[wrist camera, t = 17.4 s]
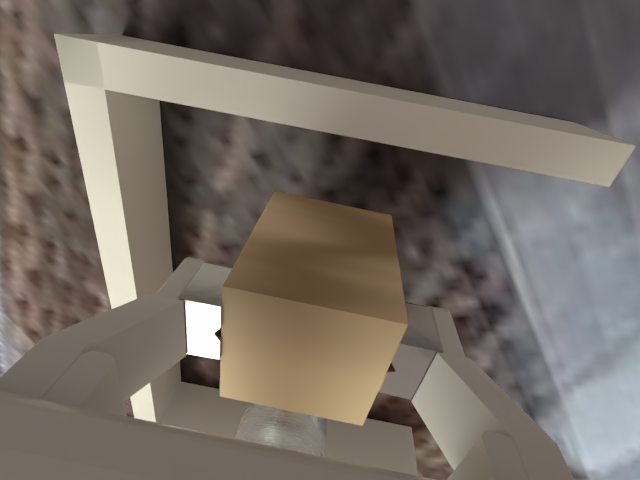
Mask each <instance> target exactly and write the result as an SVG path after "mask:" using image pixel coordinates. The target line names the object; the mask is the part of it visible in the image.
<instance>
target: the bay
mask: <svg viewBox="0 0 640 480" xmlns="http://www.w3.org/2000/svg"><path fill="white" fill-rule="evenodd" d="M54 36H55V41H56V46H57V51H58V55H59V60H60V65H61V70H62V74H63V79H64V84H65V89H66V93H67V98H68V103H69V108H70V112H71V117H72V122H73V127H74V132H75V136H76V141H77V146H78V151H79V155H80V160H81V165H82V170H83V174H84V179H85V184H86V189H87V193H88V198H89V203H90V208H91V213H92V217H93V222H94V227H95V232H96V236H97V241H98V246H99V251H100V255H101V260H102V265H103V270H104V274H105V279H106V284H107V289H108V294H109V298H110V303H111V308H112V309H114V308H116V307H118V306H121V305H123V304H126V303H128V302H130V301H133V300H135V299H138V298H140V297H142V296H145V295H147V294H155V295H156V293H157V292H158V291H159V290H160V288H161V287H162V286H163V285H164V283H165V282H166V281H167V280H168V279H169V277H170V276H171V275H172V274H173V268H172V255H171V242H170V229H169V216H168V203H167V191H166V178H165V165H164V152H163V139H162V126H161V114H160V101H159V100H161V101H167V102H172V103H177V104H182V105H187V106H192V107H198V108H203V109H208V110H213V111H218V112H223V113H229V114H234V115H239V116H244V117H249V118H255V119H260V120H265V121H270V122H275V123H280V124H286V125H291V126H296V127H301V128H306V129H311V130H317V131H322V132H327V133H332V134H337V135H342V136H348V137H353V138H358V139H363V140H368V141H373V142H379V143H384V144H389V145H394V146H399V147H404V148H410V149H415V150H420V151H425V152H430V153H435V154H441V155H446V156H451V157H456V158H461V159H466V160H472V161H477V162H482V163H487V164H492V165H498V166H503V167H508V168H513V169H518V170H523V171H529V172H534V173H539V174H544V175H549V176H554V177H560V178H565V179H570V180H575V181H580V182H585V183H591V184H596V185H601V186H606V187H610V185H611V184H612V182H613V181H614V179H615V178H616V176H617V175H618V173H619V172H620V170H621V169H622V167H623V165H624V164H625V162H626V161H627V159H628V158H629V156H630V155H631V153H632V152H633V150H634V149H635V147H636V146H635V145H632V144H630V143H627V142H625V141H622V140H619V139H617V138H614V137H612V136H609V135H606V134H604V133H601V132H599V131H596V130H593V129H591V128H588V127H586V126H583V125H580V124H578V123H575V122H570V121H564V120H559V119H554V118H549V117H544V116H538V115H533V114H528V113H523V112H518V111H512V110H507V109H502V108H497V107H492V106H486V105H481V104H476V103H471V102H466V101H460V100H455V99H450V98H445V97H440V96H435V95H429V94H424V93H419V92H414V91H409V90H403V89H398V88H393V87H388V86H383V85H377V84H372V83H367V82H362V81H357V80H351V79H346V78H341V77H336V76H331V75H325V74H320V73H315V72H310V71H305V70H300V69H294V68H289V67H284V66H279V65H274V64H268V63H263V62H258V61H253V60H248V59H242V58H237V57H232V56H227V55H222V54H216V53H211V52H206V51H201V50H196V49H190V48H185V47H180V46H175V45H170V44H164V43H159V42H154V41H149V40H144V39H139V38H133V37H128V36H123V35H91V34H54ZM130 398H131V403H132V408H133V413H134V417H135V418H137V419H142V420H147V421H152V422H157V423H161V424H166V425H171V426H176V427H181V428H186V429H191V430H195V431H200V432H205V433H210V434H215V435H220V436H225V437H230V438H234V439H235V436H236V433H237V430H238V427H239V424H240V421H241V418H242V414H243V411H244V408H245V405H246V402H245V401H240V400H235V399H230V398H225V397H221V396H220V389H216V388H211V387H206V386H201V385H196V384H191V383H186V382H181V370H180V361H179V362H177V363H176V364H174V365H173V366H172V367H170V368H169V369H168V370H166V371H165V372H164V373H162V374H161V375H159V376H158V377H157V378H155V379H154V380H153V381H151V382H150V383H149V384H147V385H146V386H145V387H143V388H142V389H140V390H139V391H138V392H136V393H135V394H134V395H132V396H131V397H130ZM324 457H327V458H332V459H337V460H342V461H346V462H351V463H356V464H361V465H366V466H371V467H376V468H381V469H386V470H390V471H395V472H400V473H405V474H410V475H415V476H418V472H417V465H416V457H415V450H414V442H413V434H412V427H409V426H404V425H399V424H394V423H388V422H383V421H378V420H373V419H368V418H366V419H365V422H364V424H363V426H360V425H355V424H351V423H346V422H341V421H336V420H331V419H327V429H326V440H325V451H324Z"/></svg>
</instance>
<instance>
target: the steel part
mask: <svg viewBox="0 0 640 480" xmlns="http://www.w3.org/2000/svg"><path fill="white" fill-rule="evenodd" d="M326 429H327V418H322V417H317V416H312V415H307V414H302V413H298V412H293V411H288V410H283V409H278V408H274V407H269V406H264V405H259V404H254V403H250V402H246V405H245V408H244V411H243V414H242V418H241V421H240V424H239V427H238V430H237V433H236V436H235V439H239V440H244V441H249V442H254V443H259V444H264V445H268V446H273V447H278V448H283V449H288V450H293V451H298V452H302V453H307V454H312V455H317V456H322V457H324V451H325V440H326Z"/></svg>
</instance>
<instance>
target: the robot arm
mask: <svg viewBox="0 0 640 480" xmlns="http://www.w3.org/2000/svg"><path fill="white" fill-rule="evenodd" d="M232 268H233V266H229V265H224V264H220V263H215V262H211V261H205V260H201V259H197V258H192V257H188V258H185V259H184V260H183V261H182V262H181V264H180V265H179V266H178V267H177V269H176V270H175V271H174V272H173V274H172V275H171V276H170V277H169V279H168V280H167V281H166V282H165V283H164V285H163V286H162V287H161V288H160V290H159V291H158V292H157V293H156V295H155V294H147V295H145V296H142V297H140V298H138V299H135V300H133V301H130V302H128V303H126V304H123V305H121V306H118V307H116V308H114V309H111V310H109V311H106V312H104V313H102V314H99V315H97V316H94V317H92V318H89V319H87V320H85V321H82V322H80V323H77V324H75V325H73V326H70V327H68V328H65V329H63V330H61V331H58V332H56V333H53V334H51V335H49V336H46V337H44V338H42V339H41V340H40V341H39V342H38V343H37V344H36V345H35V346H34V347H32V348H31V349H30V350H29V351H28V352H27V353H26V354H25V355H24V356H23V357H22V358H21V359H20V360H19V361H17V362H16V363H15V364H14V365H13V366H12V367H11V368H10V369H9V370H8V371H7V372H6V373H5V374H4V375H2V376H1V377H0V480H434V479H430V478H425V477H420V476H415V475H410V474H405V473H400V472H395V471H390V470H386V469H381V468H376V467H371V466H366V465H361V464H356V463H351V462H346V461H342V460H337V459H332V458H327V457H322V456H317V455H312V454H307V453H302V452H298V451H293V450H288V449H283V448H278V447H273V446H268V445H264V444H259V443H254V442H249V441H244V440H239V439H234V438H230V437H225V436H220V435H215V434H210V433H205V432H200V431H195V430H191V429H186V428H181V427H176V426H171V425H166V424H161V423H157V422H152V421H147V420H142V419H137V418H132V417H127V414H126V409H125V405H124V401H125V400H127V399H128V398H130V397H131V396H132V395H134V394H135V393H136V392H138V391H139V390H140V389H142V388H143V387H145V386H146V385H147V384H149V383H150V382H151V381H153V380H154V379H155V378H157V377H158V376H159V375H161V374H162V373H164V372H165V371H166V370H168V369H169V368H170V367H172V366H173V365H174V364H176V363H177V362H179V361H180V360H181V359H183V358H184V357H185V356H186V354H191V355H196V356H202V357H208V358H213V359H219V360H220V358H221V326H222V286H223V284H224V282H225V281H226V279H227V277H228V275H229V273H230V271H231V270H232ZM405 307H406V314H407V320H408V326H407V329H406V331H405V333H404V335H403V337H402V340H401V341H400V342H399V345H398V347H397V349H396V351H395V353H394V356H393V358H392V360H391V361H392V362H391V364H390V366H389V368H388V371H387V372H386V374H385V376H384V378H383V381H382V383H381V386H380V388H379V392H380V393H384V394H388V395H393V396H397V397H401V398H406V399H410V400H412V401H411V402H412V403H413V405H414V406H415V408H416V410H417V411H418V413H419V415H420V416H421V418H422V420H423V421H424V423H425V424H426V426H427V428H428V429H429V431H430V433H431V434H432V436H433V437H434V439H435V441H436V442H437V444H438V446H439V447H440V449H441V450H442V452H443V454H444V455H445V457H446V459H447V460H448V462H449V463H450V465H451V467H452V468H453V470H454V471H453V473H452V474H451V475H450V476H449V478H448V479H447V480H574V479H573V476H572V474H571V472H570V470H569V468H568V466H567V464H566V462H565V460H564V458H563V456H562V454H561V451H560V449H559V447H558V445H557V444H556V443H555V442H554V441H553V440H552V439H551V438H550V437H549V436H548V435H547V434H546V433H545V432H544V431H543V430H542V429H541V428H540V427H539V426H538V425H537V424H536V423H535V422H534V421H533V420H532V419H531V418H530V417H529V416H528V415H527V414H526V413H525V412H524V411H523V410H522V409H521V408H520V407H519V406H518V405H517V404H516V403H515V402H514V401H513V400H512V399H511V398H510V397H509V396H508V395H507V394H506V393H505V392H504V391H503V390H502V389H501V388H500V387H499V386H498V385H497V384H496V383H495V382H494V381H493V380H492V379H491V378H490V377H489V376H488V375H487V374H486V373H485V372H484V371H483V370H482V369H481V368H480V367H479V366H478V365H477V364H476V363H475V362H474V361H473V360H472V359H468V358H465V355H464V352H463V349H462V346H461V343H460V340H459V337H458V334H457V331H456V328H455V325H454V322H453V319H452V316H451V313H450V312H449V311H448V310H447V309H441V308H436V307H430V306H429V307H427V306H422V305H417V304H412V303H407V302H405Z"/></svg>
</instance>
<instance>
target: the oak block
mask: <svg viewBox="0 0 640 480" xmlns="http://www.w3.org/2000/svg"><path fill="white" fill-rule="evenodd" d="M407 326H408V320H407V314H406V307H405V301H404V294H403V287H402V281H401V274H400V268H399V261H398V255H397V248H396V241H395V235H394V228H393V222H392V215H388V214H383V213H378V212H374V211H369V210H364V209H359V208H354V207H350V206H345V205H340V204H335V203H331V202H326V201H321V200H316V199H311V198H307V197H302V196H297V195H292V194H287V193H283V192H278V191H274V193H273V195H272V197H271V199H270V200H269V202H268V204H267V206H266V208H265V210H264V211H263V213H262V215H261V217H260V219H259V220H258V222H257V224H256V226H255V228H254V230H253V231H252V233H251V235H250V237H249V239H248V241H247V242H246V244H245V246H244V248H243V250H242V251H241V253H240V255H239V257H238V259H237V261H236V262H235V264H234V266H233V268H232V270H231V271H230V273H229V275H228V277H227V279H226V281H225V282H224V284H223V286H222V326H221V361H220V396H221V397H225V398H230V399H235V400H240V401H245V402H250V403H254V404H259V405H264V406H269V407H274V408H278V409H283V410H288V411H293V412H298V413H302V414H307V415H312V416H317V417H322V418H327V419H331V420H336V421H341V422H346V423H351V424H355V425H360V426H363V424H364V422H365V419H366V417H367V415H368V413H369V411H370V408H371V406H372V404H373V402H374V399H375V397H376V395H377V393H378V391H379V388H380V386H381V383H382V381H383V378H384V376H385V374H386V372H387V371H388V368H389V366H390V364H391V362H392V361H391V360H392V358H393V356H394V353H395V351H396V349H397V347H398V345H399V342H400V341H401V340H402V337H403V335H404V333H405V331H406V329H407Z"/></svg>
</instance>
